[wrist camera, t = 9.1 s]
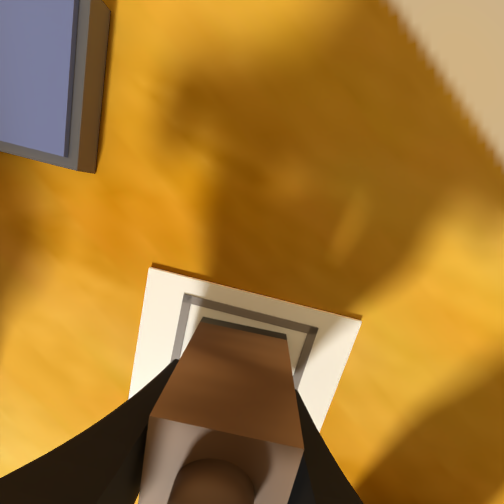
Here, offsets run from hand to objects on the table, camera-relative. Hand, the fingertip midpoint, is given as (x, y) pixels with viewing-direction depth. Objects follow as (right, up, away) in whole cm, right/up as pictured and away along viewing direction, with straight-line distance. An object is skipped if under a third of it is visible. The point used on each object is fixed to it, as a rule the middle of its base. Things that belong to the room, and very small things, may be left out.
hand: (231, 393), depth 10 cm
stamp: (0, +1, +1) cm, 2 cm away
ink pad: (-8, +13, -1) cm, 15 cm away
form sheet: (0, 0, +2) cm, 2 cm away
